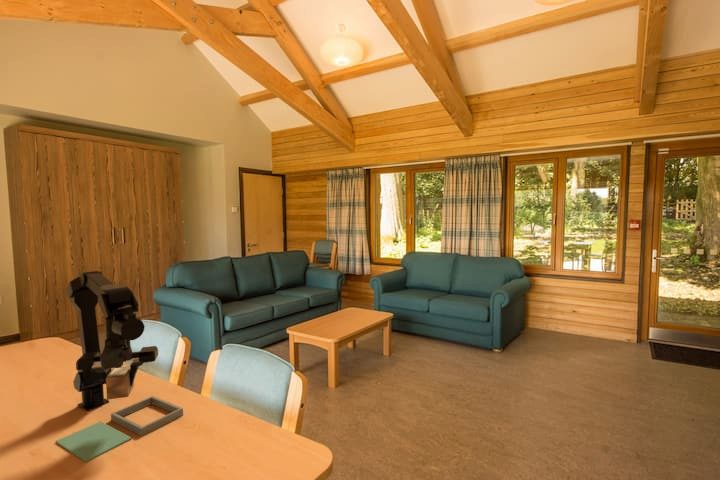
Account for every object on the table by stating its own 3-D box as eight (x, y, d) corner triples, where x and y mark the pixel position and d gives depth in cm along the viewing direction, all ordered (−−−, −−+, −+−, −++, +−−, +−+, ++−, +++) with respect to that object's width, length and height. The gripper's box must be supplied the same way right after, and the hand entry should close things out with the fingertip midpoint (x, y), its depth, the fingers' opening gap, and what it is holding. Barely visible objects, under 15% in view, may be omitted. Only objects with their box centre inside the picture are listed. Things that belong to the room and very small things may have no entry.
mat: (55, 442, 102) (55, 440, 102) (100, 422, 112) (100, 421, 112) (85, 462, 94) (85, 460, 94) (131, 439, 104) (131, 437, 104)
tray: (111, 420, 113) (110, 413, 113) (152, 401, 124) (152, 395, 124) (141, 435, 105) (141, 428, 105) (183, 414, 116) (183, 408, 116)
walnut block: (107, 399, 104) (105, 377, 104) (114, 388, 111) (113, 367, 110) (128, 396, 106) (126, 375, 105) (134, 385, 112) (133, 365, 112)
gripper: (66, 346, 96) (69, 406, 97) (149, 338, 102) (152, 395, 103) (82, 332, 107) (85, 387, 108) (157, 326, 113) (159, 378, 114)
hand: (120, 387), depth 108 cm, fingers closed on walnut block, 5 cm apart
